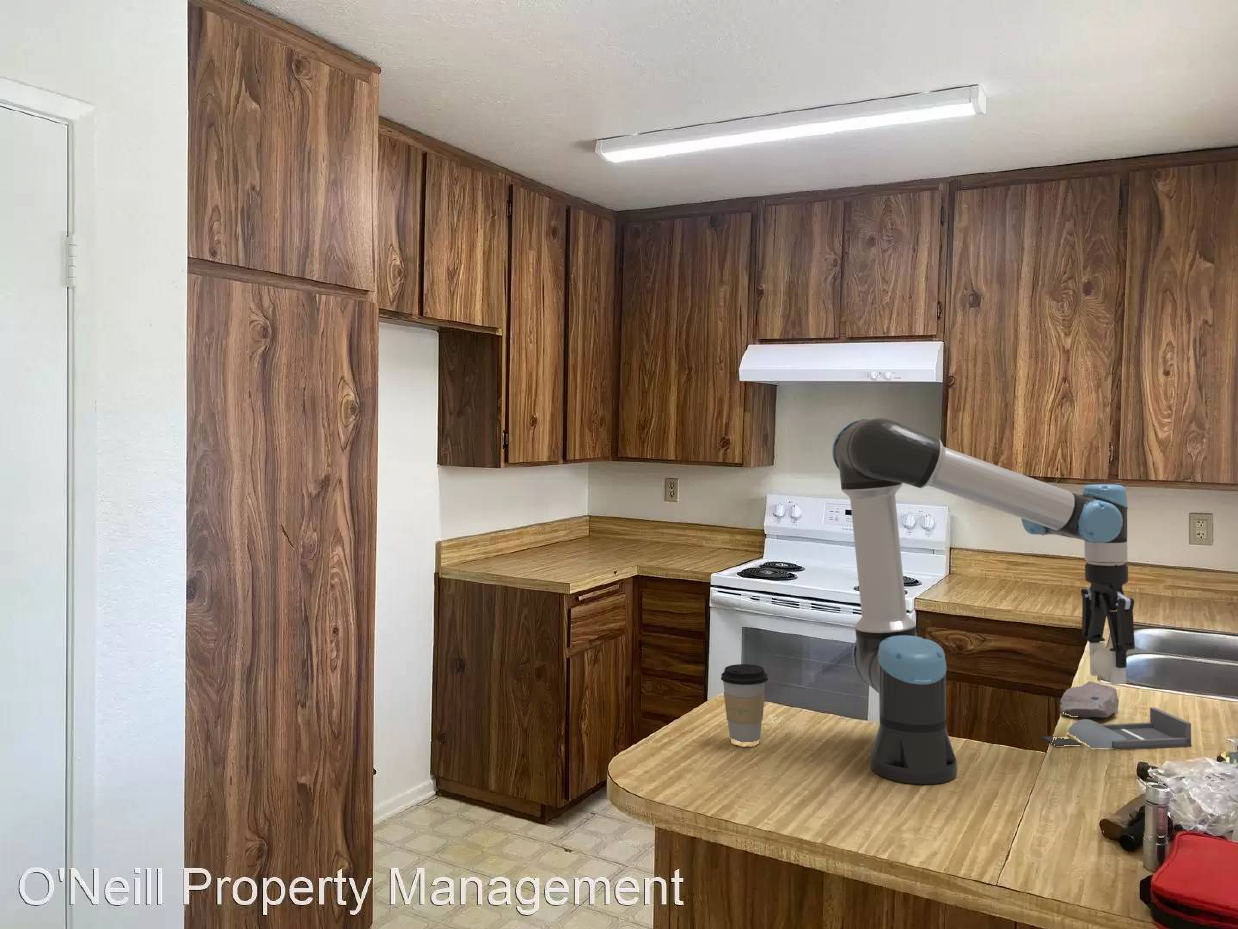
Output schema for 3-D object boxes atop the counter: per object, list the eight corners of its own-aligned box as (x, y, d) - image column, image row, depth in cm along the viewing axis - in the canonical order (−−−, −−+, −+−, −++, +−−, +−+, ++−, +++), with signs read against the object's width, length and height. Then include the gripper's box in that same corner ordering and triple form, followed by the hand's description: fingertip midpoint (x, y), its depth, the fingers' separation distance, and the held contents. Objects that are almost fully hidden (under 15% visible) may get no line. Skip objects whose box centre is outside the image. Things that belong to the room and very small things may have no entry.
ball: (1103, 682, 177) (1102, 652, 176) (1085, 675, 183) (1084, 645, 182) (1133, 681, 177) (1132, 650, 177) (1113, 673, 183) (1113, 643, 183)
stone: (1102, 726, 190) (1102, 698, 189) (1056, 716, 197) (1056, 689, 197) (1128, 714, 198) (1128, 687, 198) (1083, 705, 205) (1083, 679, 205)
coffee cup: (719, 749, 180) (717, 673, 179) (725, 734, 189) (723, 662, 189) (767, 752, 177) (765, 675, 177) (770, 736, 187) (769, 664, 186)
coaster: (1056, 747, 177) (1056, 745, 177) (1042, 739, 182) (1042, 736, 182) (1081, 746, 177) (1081, 743, 177) (1066, 738, 182) (1066, 735, 182)
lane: (1114, 750, 175) (1114, 726, 175) (1082, 732, 185) (1082, 710, 185) (1191, 746, 176) (1191, 723, 176) (1154, 729, 186) (1154, 707, 186)
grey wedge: (1132, 773, 176) (1131, 732, 176) (1092, 775, 175) (1092, 734, 175) (1103, 757, 185) (1103, 718, 185) (1066, 759, 184) (1065, 720, 184)
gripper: (1156, 568, 170) (1157, 691, 171) (1095, 556, 189) (1097, 666, 189) (1117, 569, 170) (1119, 693, 170) (1061, 557, 188) (1062, 668, 189)
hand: (1107, 679), depth 180 cm, fingers closed on ball, 6 cm apart
